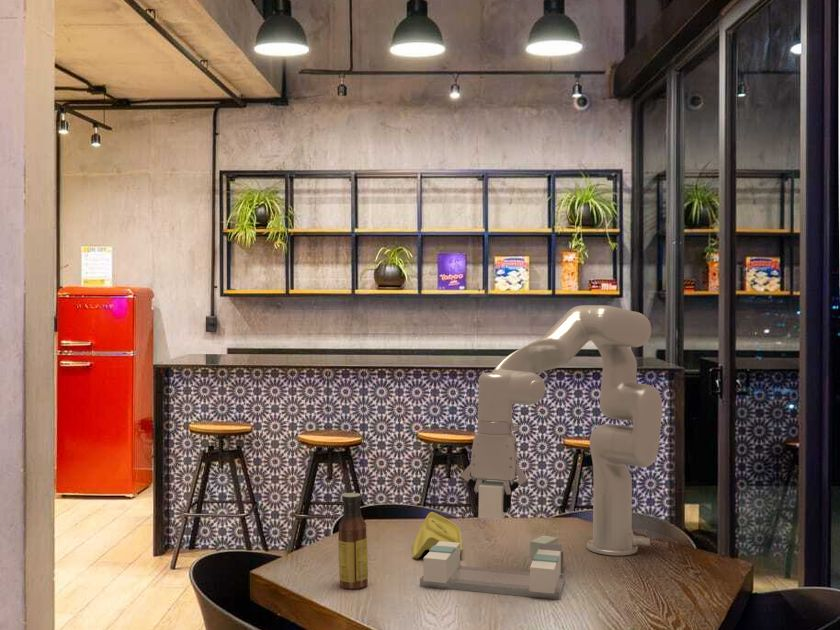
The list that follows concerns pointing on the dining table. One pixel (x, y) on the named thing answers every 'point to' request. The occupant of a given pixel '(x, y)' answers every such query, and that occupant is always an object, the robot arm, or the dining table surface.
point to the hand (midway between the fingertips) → (493, 509)
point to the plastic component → (435, 534)
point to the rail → (494, 582)
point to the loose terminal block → (541, 540)
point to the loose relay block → (553, 548)
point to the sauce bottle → (352, 544)
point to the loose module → (491, 500)
